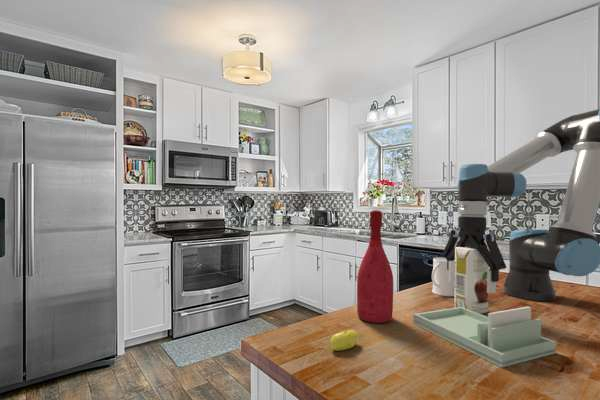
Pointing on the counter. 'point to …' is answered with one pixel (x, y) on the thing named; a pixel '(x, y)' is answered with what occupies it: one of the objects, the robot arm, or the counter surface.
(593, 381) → the counter surface
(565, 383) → the counter surface
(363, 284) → the wine bottle
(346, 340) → the lemon
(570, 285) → the counter surface
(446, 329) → the dish rack
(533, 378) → the counter surface
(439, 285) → the mug
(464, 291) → the juice carton
